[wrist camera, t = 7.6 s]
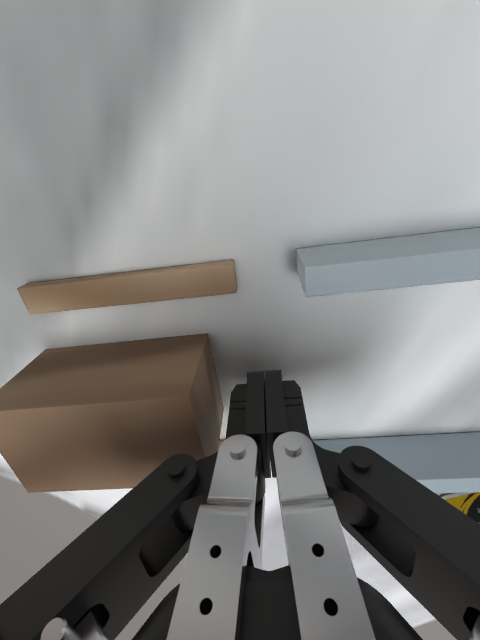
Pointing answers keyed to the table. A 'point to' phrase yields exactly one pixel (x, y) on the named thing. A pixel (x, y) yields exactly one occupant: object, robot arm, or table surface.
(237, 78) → the table surface
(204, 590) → the robot arm
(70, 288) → the strips
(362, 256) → the channel
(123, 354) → the block
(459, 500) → the medicine bottle
